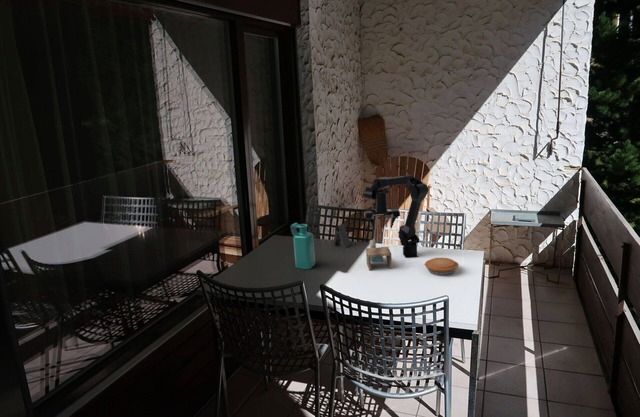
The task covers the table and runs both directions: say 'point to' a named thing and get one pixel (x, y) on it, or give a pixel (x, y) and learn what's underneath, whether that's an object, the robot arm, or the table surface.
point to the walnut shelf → (378, 252)
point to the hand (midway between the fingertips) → (382, 229)
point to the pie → (441, 266)
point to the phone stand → (341, 237)
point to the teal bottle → (303, 247)
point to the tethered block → (377, 258)
